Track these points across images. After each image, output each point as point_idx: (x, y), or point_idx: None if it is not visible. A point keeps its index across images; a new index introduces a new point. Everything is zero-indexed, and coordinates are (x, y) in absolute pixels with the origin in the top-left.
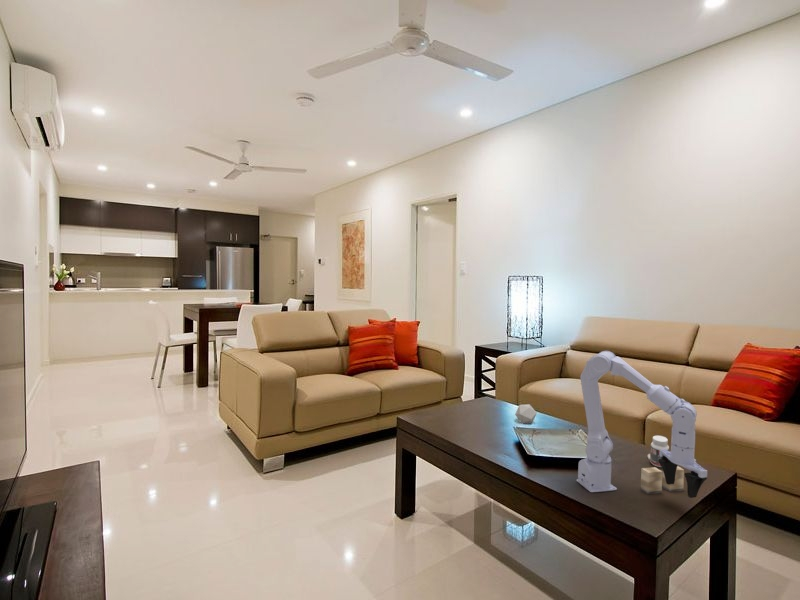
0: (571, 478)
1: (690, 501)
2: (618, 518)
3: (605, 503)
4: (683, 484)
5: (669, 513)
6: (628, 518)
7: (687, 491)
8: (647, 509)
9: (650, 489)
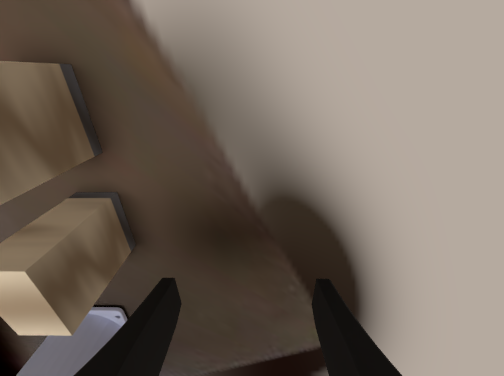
0: None
1: (187, 124)
2: (259, 359)
3: (195, 351)
4: (37, 64)
5: (261, 262)
6: (263, 346)
7: (320, 341)
8: (231, 297)
9: (123, 250)
